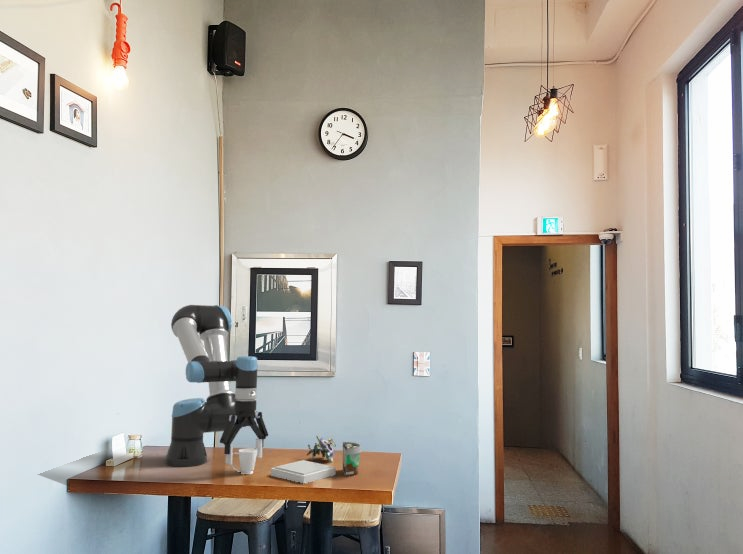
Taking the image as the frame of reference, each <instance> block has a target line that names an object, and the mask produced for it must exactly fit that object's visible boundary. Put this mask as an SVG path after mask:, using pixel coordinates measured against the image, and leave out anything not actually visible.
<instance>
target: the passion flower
mask: <svg viewBox="0 0 743 554" xmlns="http://www.w3.org/2000/svg"><path fill="white" fill-rule="evenodd" d="M316 438H317V439H316V440H317V441H318V442H315V443H314V444H315V445H313V448H311V445H310V444H307V447H308V450H309V451H308V452H307V453H306V456H309V455H311V454H312V455H311V459H310V462H313V459H314V458H315V457H316V455H317V456H318V455H319V456H320V454H321V457H323V458H325V457H326V459H327V461H329V462H331V463H333V462H334V457H335V448H334V447H336V445H337V444H336V443H335V442H334V441H333V440H334V439H332V438H328V440H326V438H323V437H319V436H318V435H316ZM333 446H334V447H333Z"/></svg>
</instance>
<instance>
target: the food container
mask: <svg viewBox="0 0 743 554" xmlns="http://www.w3.org/2000/svg"><path fill="white" fill-rule="evenodd" d="M362 452H363V451H362V447H361V444H359V443H356V442H351V441H343V442H342V472H343V474H344V476H345V477H346V476H350V477H355V476H358V474H359V465H360V457H361V456H360V453H362ZM354 475H355V476H354Z"/></svg>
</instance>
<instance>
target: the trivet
mask: <svg viewBox="0 0 743 554" xmlns="http://www.w3.org/2000/svg"><path fill="white" fill-rule="evenodd" d="M335 475H336V467H334V466H331V465H327V464H323V463H319V462H313V461H311V460H310V461H308V460H304V459H302V460H297V461H294V462H290V463H285V464H282V465H277V466H275V467H271V468H270V476H271V477H275V478H279V479H282V480H286V479H287V480H288V481H290V480H291V482H294V481H295V483H298V482H300V483H299V484H302V483H303V485H305V484H309V483H311V482H312V483H313V482H315V481H319V480H323V479H326V478H328V477H329V476H330V477H333V476H335ZM330 477H329V478H330ZM308 482H309V483H308ZM304 483H305V484H304Z"/></svg>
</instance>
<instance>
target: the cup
mask: <svg viewBox="0 0 743 554" xmlns="http://www.w3.org/2000/svg"><path fill="white" fill-rule="evenodd" d="M234 455H238V458H239V466H240V470H239V469H237V468H236V467H235V465H234V464H233V463H232V464H230V466H231V467H232V468H233V469H234V470H235V472H238V473H239V472H241V473H240V475H244V474H250V475H252V474H254V469H255V466H256V460H257V457H256V456H257V449H256V448H252V447H246V448H240V449H238V451H235V452H233V456H234ZM233 456H232V458H233Z"/></svg>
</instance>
